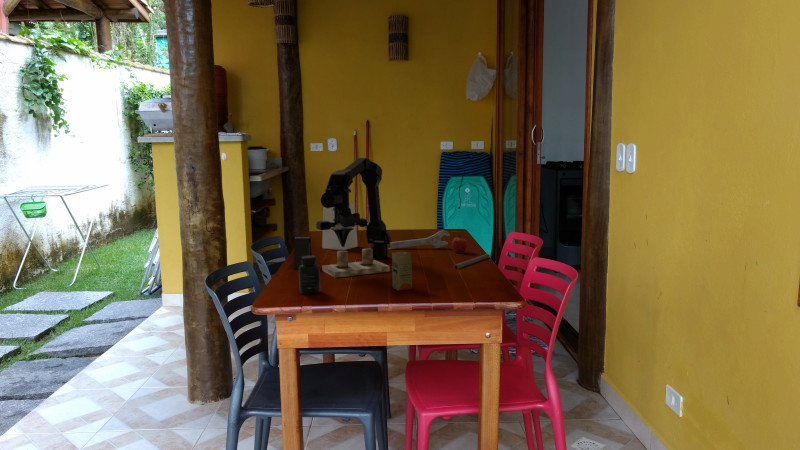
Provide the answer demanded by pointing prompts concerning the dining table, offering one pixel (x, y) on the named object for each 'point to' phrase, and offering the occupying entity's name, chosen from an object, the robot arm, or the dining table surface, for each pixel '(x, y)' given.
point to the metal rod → (471, 261)
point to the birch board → (355, 269)
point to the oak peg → (342, 259)
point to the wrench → (422, 241)
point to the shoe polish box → (402, 270)
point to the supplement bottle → (309, 276)
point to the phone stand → (301, 250)
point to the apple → (459, 244)
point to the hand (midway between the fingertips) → (342, 246)
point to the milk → (331, 238)
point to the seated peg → (367, 257)
